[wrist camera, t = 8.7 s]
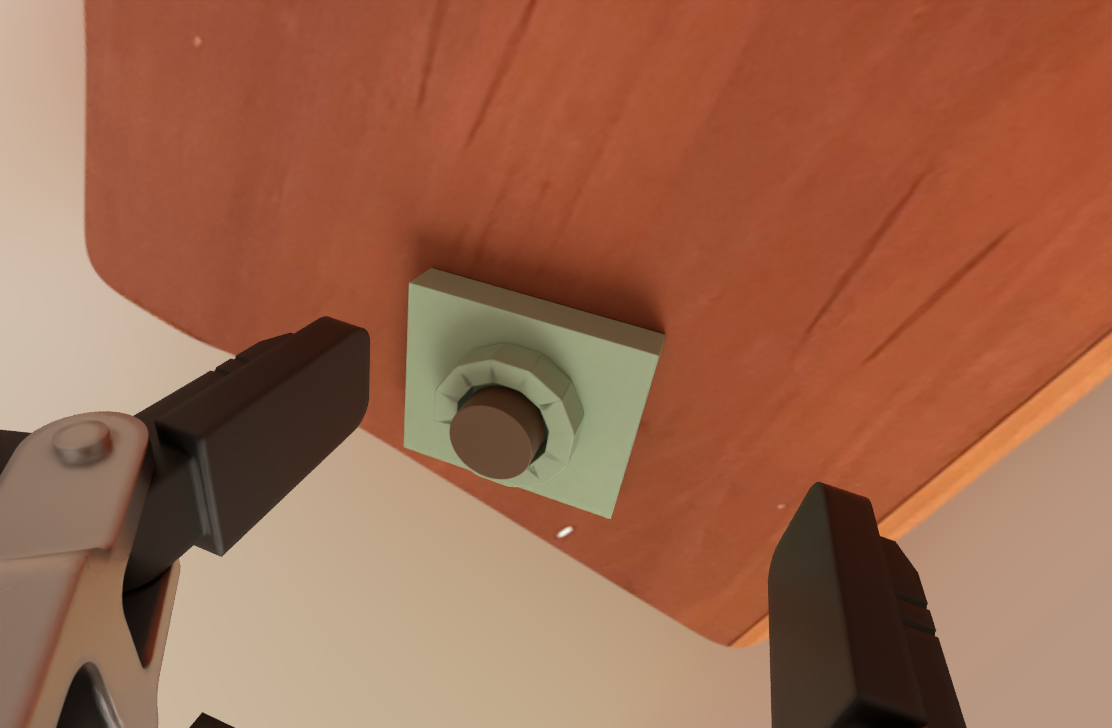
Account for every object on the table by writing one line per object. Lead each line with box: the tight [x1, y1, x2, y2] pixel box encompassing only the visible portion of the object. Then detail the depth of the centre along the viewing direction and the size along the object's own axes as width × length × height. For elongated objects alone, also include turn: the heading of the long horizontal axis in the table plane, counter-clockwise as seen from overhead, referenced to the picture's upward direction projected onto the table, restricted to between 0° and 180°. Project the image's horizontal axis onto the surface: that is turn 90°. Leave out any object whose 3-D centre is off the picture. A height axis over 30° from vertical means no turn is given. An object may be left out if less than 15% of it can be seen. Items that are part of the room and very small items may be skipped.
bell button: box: [449, 386, 544, 479], centre depth 26 cm, size 4×4×2 cm
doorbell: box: [404, 268, 666, 519], centre depth 28 cm, size 12×10×4 cm
